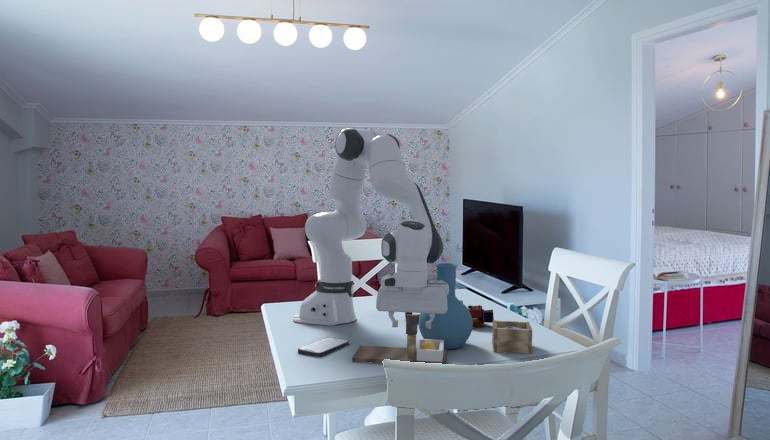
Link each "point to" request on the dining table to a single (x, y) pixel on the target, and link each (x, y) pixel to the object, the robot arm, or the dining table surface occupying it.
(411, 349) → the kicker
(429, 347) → the ball
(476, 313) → the toy
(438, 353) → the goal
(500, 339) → the box
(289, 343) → the dining table surface
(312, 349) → the phone case
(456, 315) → the vase
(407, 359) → the board
